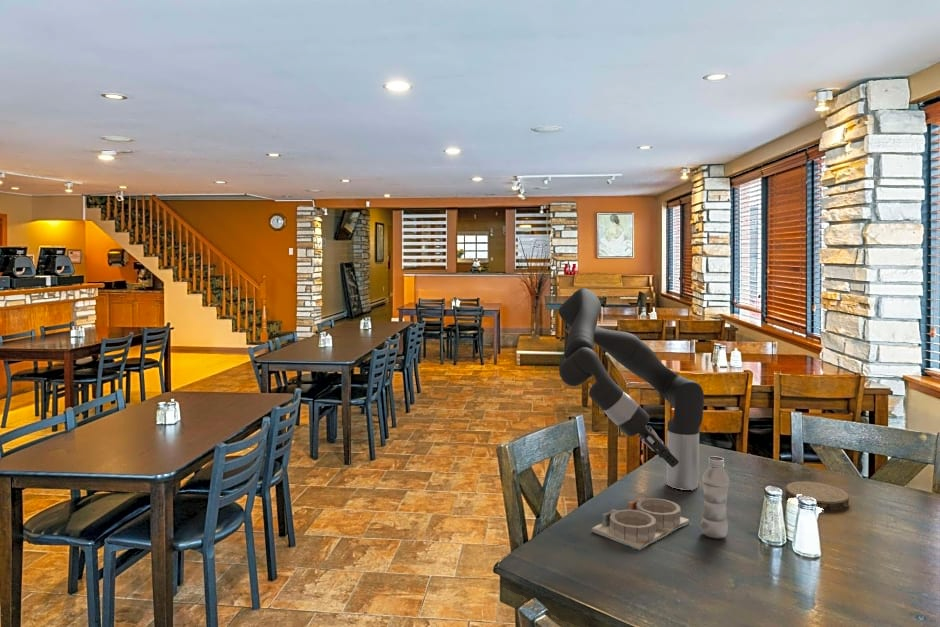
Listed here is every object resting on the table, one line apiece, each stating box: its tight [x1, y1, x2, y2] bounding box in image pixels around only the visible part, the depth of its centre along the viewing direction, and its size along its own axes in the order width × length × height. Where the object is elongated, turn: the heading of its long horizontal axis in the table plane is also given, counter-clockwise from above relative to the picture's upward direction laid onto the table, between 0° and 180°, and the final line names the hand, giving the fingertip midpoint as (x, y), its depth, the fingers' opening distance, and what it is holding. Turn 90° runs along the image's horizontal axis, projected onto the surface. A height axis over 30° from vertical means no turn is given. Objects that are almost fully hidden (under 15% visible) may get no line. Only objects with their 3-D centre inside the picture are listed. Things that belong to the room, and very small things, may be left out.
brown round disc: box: [785, 481, 850, 512], centre depth 184 cm, size 16×16×3 cm
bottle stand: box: [591, 497, 690, 548], centre depth 166 cm, size 23×14×5 cm, turn 131°
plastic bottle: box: [700, 455, 730, 539], centre depth 160 cm, size 6×7×20 cm
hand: (671, 458), depth 160 cm, fingers open, 8 cm apart
